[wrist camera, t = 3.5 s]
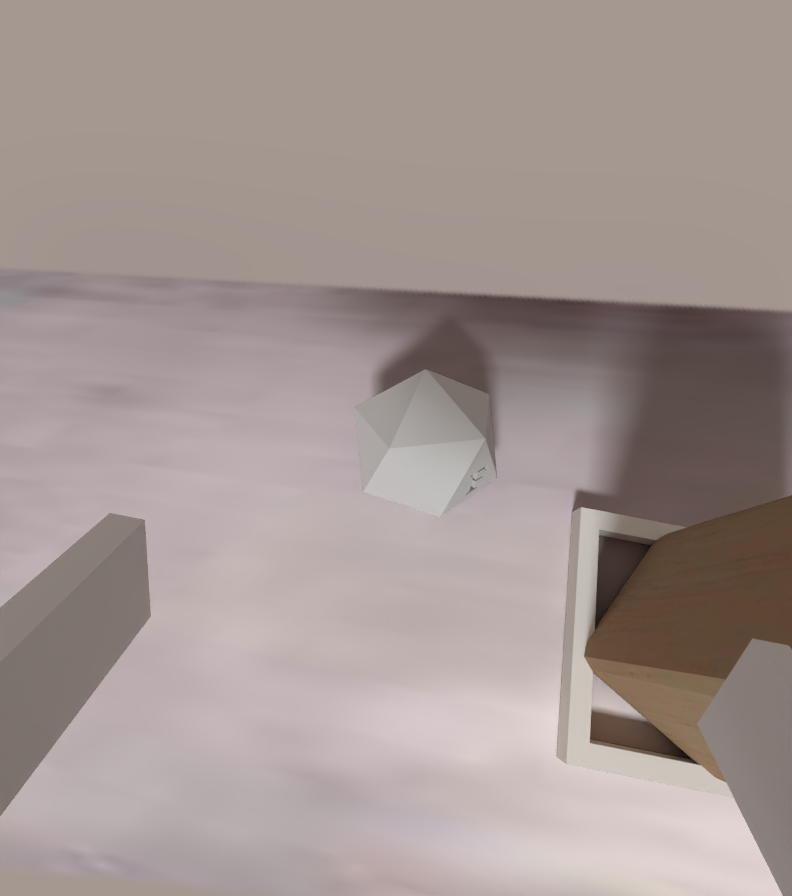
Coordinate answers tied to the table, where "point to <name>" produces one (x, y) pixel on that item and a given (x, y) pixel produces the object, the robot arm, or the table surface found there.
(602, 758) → the base frame
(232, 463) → the table surface
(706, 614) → the wooden block
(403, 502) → the die
